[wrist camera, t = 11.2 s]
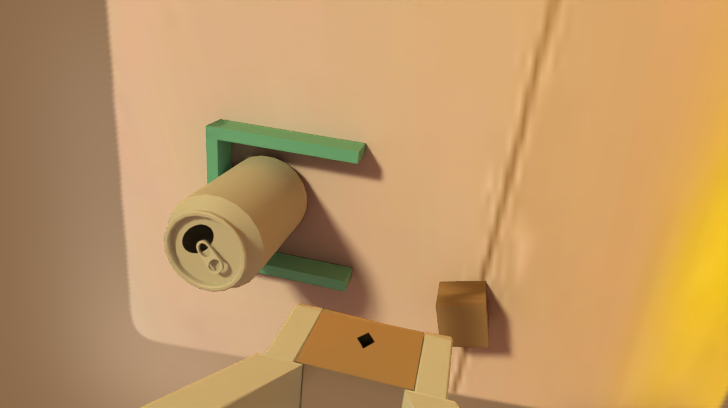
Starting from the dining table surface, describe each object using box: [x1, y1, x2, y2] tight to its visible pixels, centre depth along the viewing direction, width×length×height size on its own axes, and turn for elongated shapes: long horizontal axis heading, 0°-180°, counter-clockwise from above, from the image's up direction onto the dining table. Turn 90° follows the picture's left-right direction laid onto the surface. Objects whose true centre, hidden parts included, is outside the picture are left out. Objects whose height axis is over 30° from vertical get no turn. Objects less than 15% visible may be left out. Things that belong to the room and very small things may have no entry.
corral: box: [206, 119, 366, 291], centre depth 43 cm, size 13×13×2 cm
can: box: [164, 155, 307, 292], centre depth 39 cm, size 8×8×12 cm
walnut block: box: [436, 281, 489, 347], centre depth 43 cm, size 4×4×4 cm
